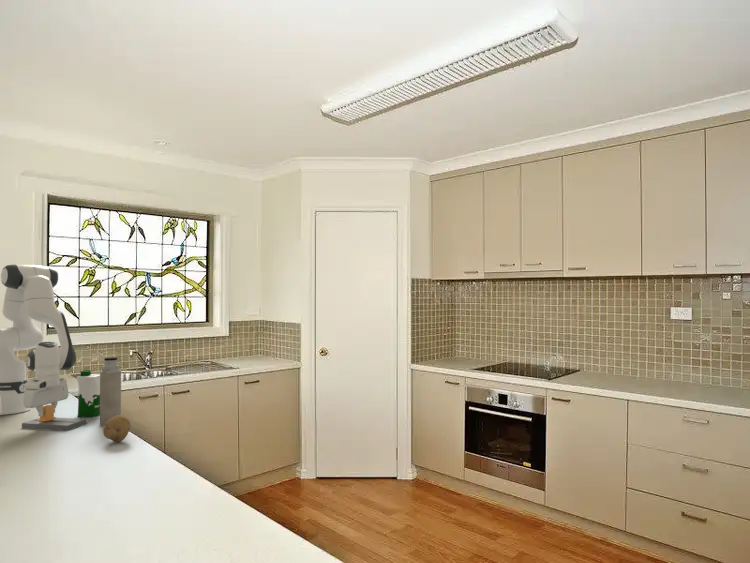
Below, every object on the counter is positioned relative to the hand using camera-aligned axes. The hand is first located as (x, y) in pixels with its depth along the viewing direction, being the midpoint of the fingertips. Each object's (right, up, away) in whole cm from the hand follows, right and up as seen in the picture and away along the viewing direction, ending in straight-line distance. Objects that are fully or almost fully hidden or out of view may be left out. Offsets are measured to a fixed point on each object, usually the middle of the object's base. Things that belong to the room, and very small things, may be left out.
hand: (46, 414), depth 218 cm
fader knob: (0, -2, 0) cm, 2 cm away
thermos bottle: (+25, -5, +3) cm, 26 cm away
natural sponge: (+41, -4, -24) cm, 48 cm away
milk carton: (+8, -5, +18) cm, 20 cm away
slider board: (+4, -5, -1) cm, 6 cm away
